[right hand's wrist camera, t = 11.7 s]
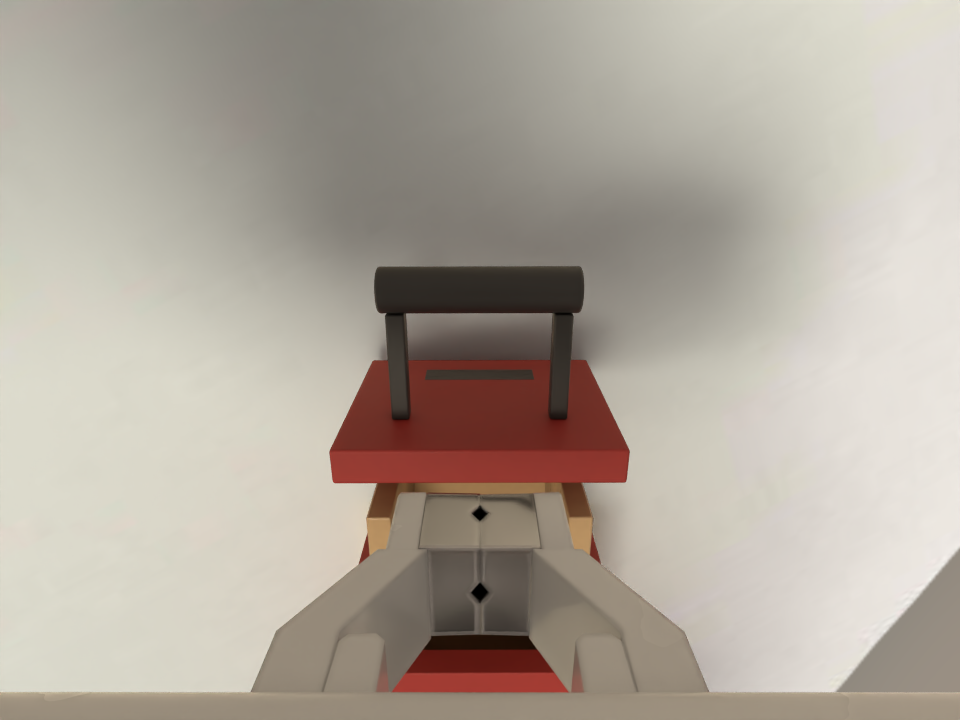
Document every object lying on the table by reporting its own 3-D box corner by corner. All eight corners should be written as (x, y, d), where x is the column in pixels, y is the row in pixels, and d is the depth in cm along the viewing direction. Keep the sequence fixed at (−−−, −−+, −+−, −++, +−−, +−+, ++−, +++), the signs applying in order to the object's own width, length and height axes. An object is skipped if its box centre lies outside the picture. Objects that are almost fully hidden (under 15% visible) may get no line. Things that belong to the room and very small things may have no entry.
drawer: (363, 238, 22) (309, 285, 15) (595, 238, 22) (649, 284, 15) (394, 642, 30) (368, 797, 23) (566, 642, 30) (592, 796, 23)
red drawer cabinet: (375, 503, 28) (326, 673, 19) (584, 503, 28) (633, 672, 19) (395, 744, 34) (365, 956, 25) (565, 743, 34) (595, 955, 25)
